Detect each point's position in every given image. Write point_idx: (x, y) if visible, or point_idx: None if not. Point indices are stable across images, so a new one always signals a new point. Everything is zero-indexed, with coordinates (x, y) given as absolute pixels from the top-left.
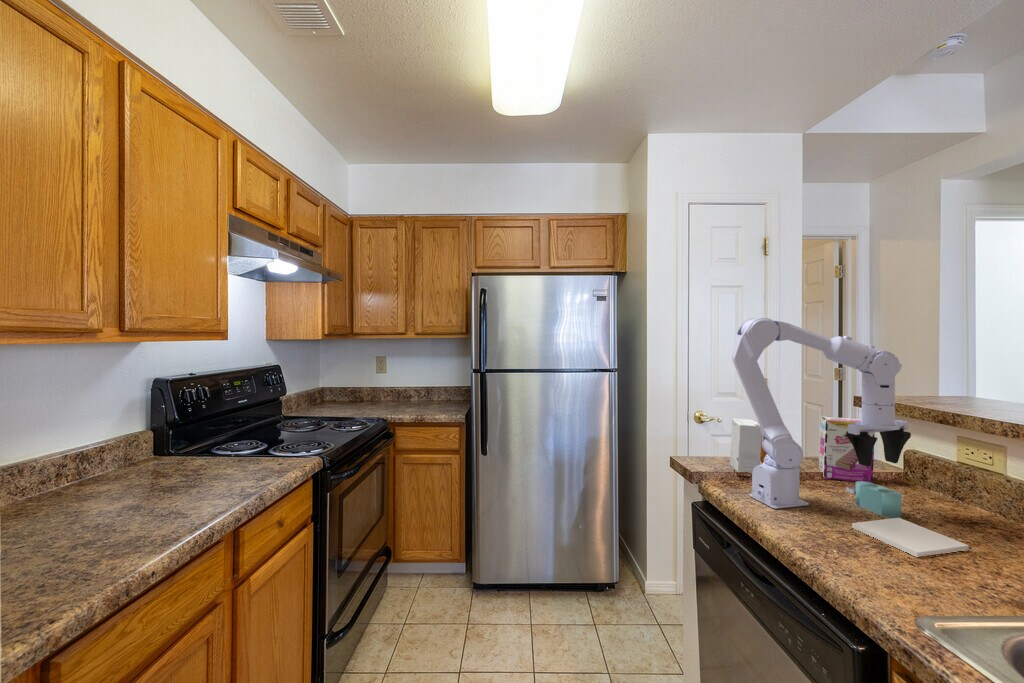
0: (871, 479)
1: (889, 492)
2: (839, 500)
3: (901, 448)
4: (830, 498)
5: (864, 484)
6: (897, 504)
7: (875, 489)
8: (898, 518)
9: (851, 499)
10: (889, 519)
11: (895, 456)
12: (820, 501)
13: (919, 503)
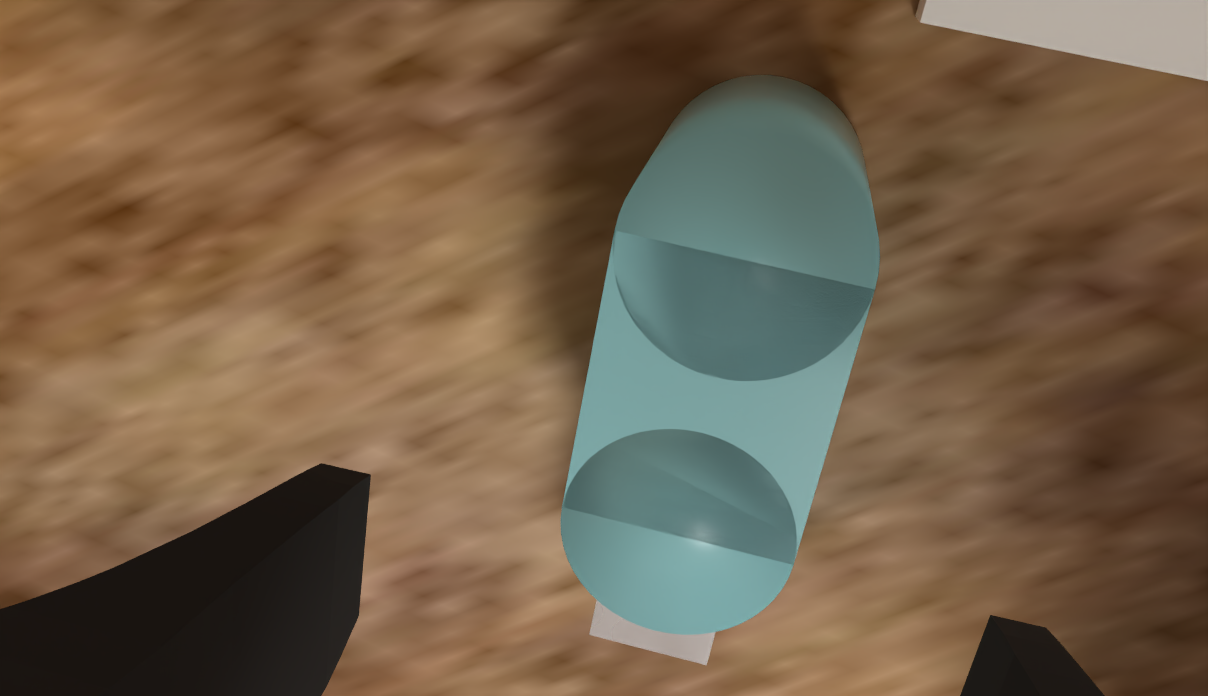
0: None
1: (752, 256)
2: (811, 594)
3: (127, 588)
4: (838, 657)
5: (712, 545)
6: (798, 115)
7: (795, 396)
8: (956, 10)
9: None
10: (1092, 41)
11: (310, 548)
12: None
13: (119, 197)
